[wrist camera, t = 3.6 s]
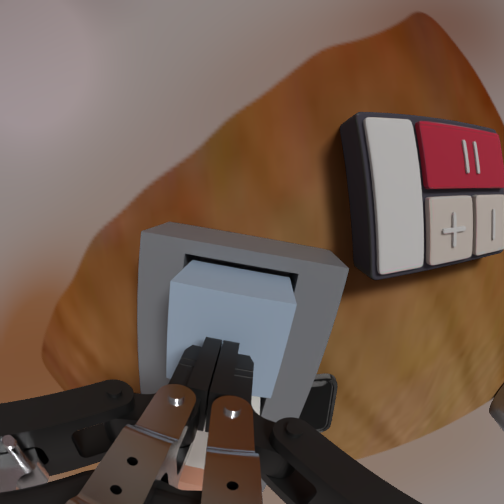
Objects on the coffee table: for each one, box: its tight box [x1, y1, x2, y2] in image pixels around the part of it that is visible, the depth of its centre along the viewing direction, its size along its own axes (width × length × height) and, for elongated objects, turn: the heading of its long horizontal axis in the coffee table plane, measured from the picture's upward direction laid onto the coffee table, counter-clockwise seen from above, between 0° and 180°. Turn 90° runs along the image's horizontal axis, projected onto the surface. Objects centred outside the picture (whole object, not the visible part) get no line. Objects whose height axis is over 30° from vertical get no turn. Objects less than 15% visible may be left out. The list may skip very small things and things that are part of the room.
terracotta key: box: [178, 465, 204, 491], centre depth 18 cm, size 6×6×4 cm
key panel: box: [137, 222, 349, 492], centre depth 20 cm, size 12×26×5 cm, turn 170°
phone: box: [299, 374, 337, 433], centre depth 23 cm, size 8×1×15 cm
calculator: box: [340, 112, 504, 280], centre depth 17 cm, size 11×4×15 cm
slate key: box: [166, 260, 297, 398], centre depth 14 cm, size 6×6×4 cm
